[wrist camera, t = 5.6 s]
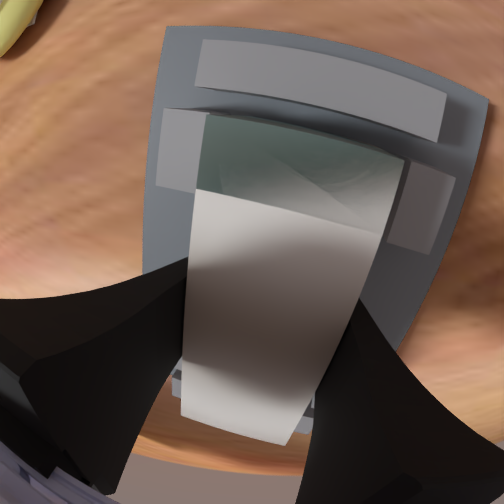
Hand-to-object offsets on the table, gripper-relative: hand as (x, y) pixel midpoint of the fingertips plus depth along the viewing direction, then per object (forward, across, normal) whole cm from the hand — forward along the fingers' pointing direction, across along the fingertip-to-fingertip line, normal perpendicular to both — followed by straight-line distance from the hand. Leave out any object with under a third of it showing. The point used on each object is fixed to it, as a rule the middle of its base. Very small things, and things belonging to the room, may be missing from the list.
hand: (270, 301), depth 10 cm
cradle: (+3, 0, 0) cm, 3 cm away
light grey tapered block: (+2, 0, 0) cm, 2 cm away
